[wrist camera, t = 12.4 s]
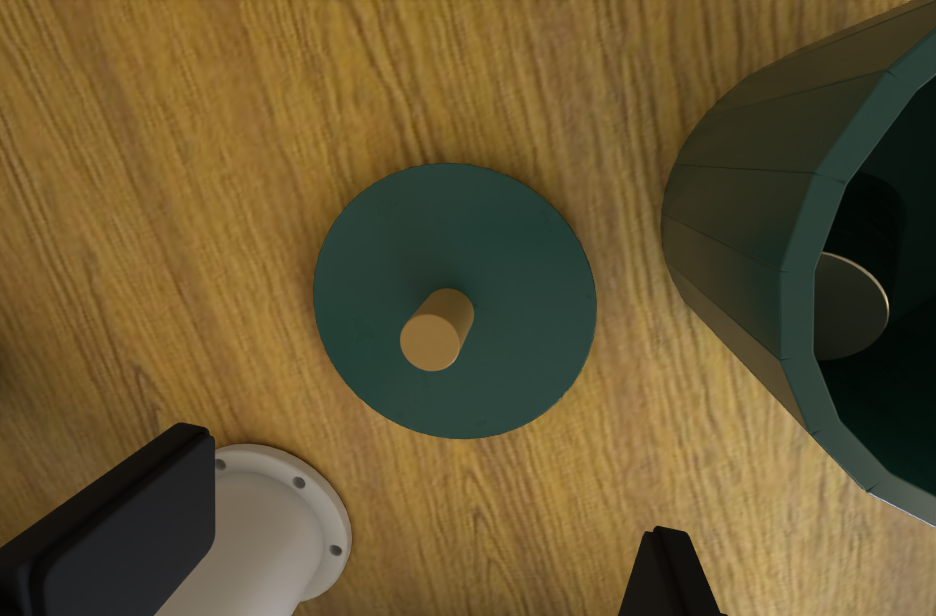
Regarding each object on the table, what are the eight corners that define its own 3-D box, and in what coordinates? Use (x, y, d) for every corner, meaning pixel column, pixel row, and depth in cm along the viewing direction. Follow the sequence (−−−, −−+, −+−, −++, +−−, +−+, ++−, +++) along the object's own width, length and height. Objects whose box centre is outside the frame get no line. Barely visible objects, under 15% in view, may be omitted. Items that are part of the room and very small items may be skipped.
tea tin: (757, 248, 24) (713, 330, 20) (796, 157, 21) (753, 232, 17) (871, 283, 22) (848, 381, 18) (934, 186, 19) (923, 280, 15)
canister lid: (317, 401, 31) (267, 453, 25) (328, 142, 26) (269, 139, 21) (563, 452, 29) (567, 520, 24) (625, 186, 24) (647, 195, 19)
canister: (629, 325, 26) (705, 483, 14) (707, 22, 22) (930, -166, 9) (920, 377, 25) (1312, 609, 12) (1070, 62, 20) (1948, -97, 8)
